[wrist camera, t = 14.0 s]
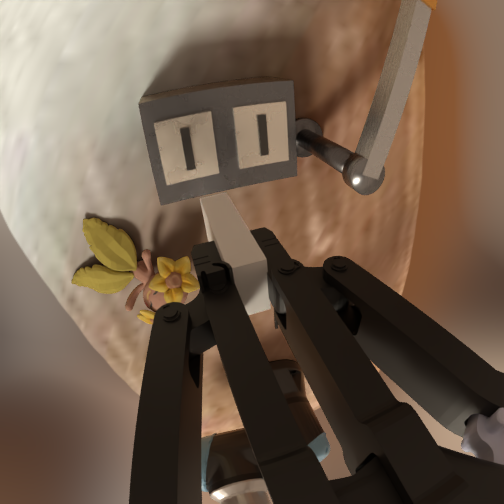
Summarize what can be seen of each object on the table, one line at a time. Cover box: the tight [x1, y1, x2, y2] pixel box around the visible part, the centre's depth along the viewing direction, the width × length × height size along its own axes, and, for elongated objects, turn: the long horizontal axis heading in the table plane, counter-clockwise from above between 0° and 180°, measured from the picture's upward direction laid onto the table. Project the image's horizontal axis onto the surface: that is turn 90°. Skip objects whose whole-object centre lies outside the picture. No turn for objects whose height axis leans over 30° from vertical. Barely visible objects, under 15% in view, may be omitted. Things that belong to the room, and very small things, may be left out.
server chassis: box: [139, 77, 297, 205], centre depth 29 cm, size 10×14×8 cm
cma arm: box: [342, 0, 437, 195], centre depth 21 cm, size 4×23×2 cm, turn 163°
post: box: [295, 118, 354, 173], centre depth 32 cm, size 5×5×11 cm
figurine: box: [72, 218, 200, 324], centre depth 37 cm, size 12×9×15 cm
